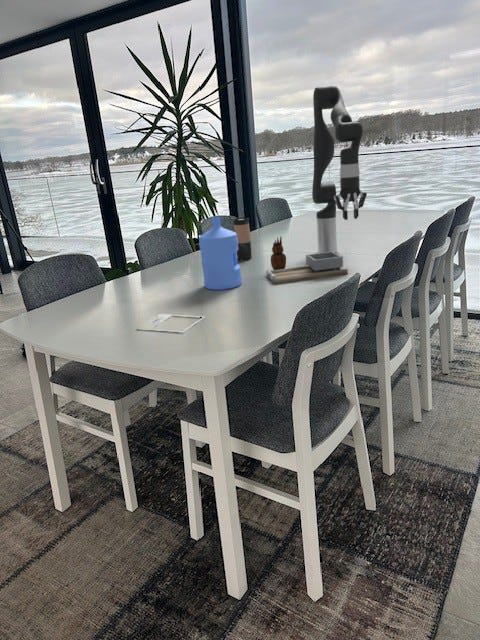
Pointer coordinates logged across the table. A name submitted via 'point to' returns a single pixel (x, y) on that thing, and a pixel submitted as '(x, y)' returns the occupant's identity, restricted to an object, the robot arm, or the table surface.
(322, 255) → the shallow grey tray
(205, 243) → the water jug
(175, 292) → the table surface
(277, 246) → the wooden figurine
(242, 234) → the travel mug
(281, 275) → the rail board
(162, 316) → the photo frame
